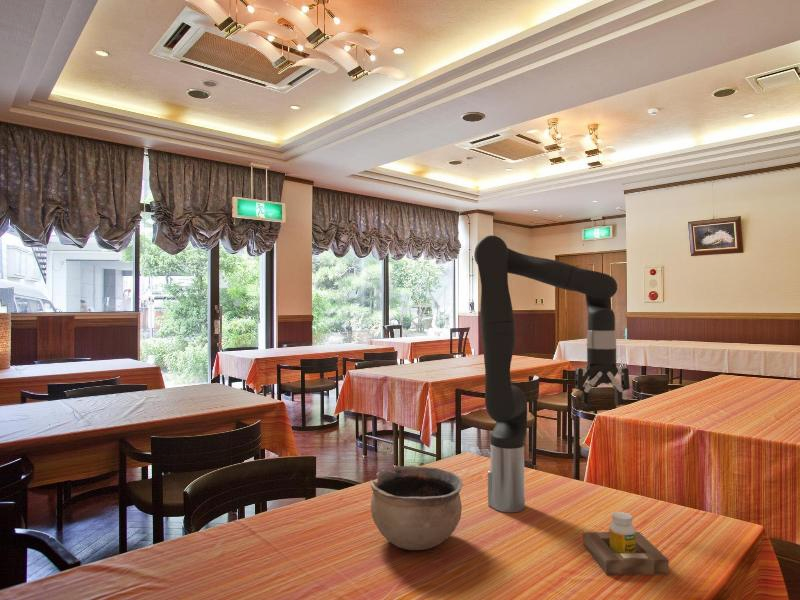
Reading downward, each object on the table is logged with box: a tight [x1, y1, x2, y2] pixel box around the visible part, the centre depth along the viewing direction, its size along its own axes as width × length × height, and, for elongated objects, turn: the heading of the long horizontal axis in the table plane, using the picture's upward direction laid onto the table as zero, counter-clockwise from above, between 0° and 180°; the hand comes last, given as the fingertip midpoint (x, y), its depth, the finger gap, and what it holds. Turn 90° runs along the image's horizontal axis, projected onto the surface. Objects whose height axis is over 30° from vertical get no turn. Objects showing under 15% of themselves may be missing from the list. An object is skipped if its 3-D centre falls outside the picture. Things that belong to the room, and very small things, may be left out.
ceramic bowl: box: [370, 465, 464, 551], centre depth 122 cm, size 22×22×15 cm
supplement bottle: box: [608, 511, 637, 553], centre depth 113 cm, size 5×5×10 cm
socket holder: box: [582, 531, 670, 576], centre depth 113 cm, size 13×13×3 cm
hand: (602, 405), depth 142 cm, fingers open, 8 cm apart
